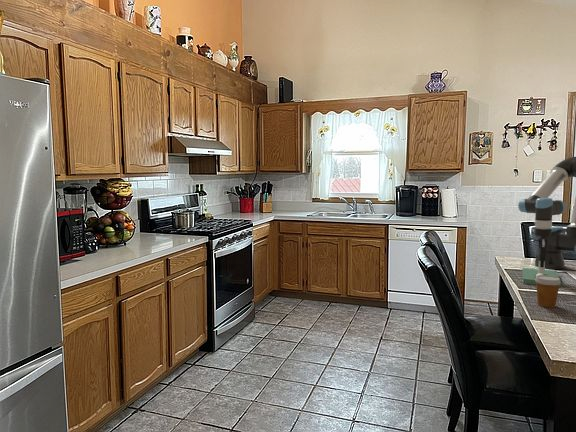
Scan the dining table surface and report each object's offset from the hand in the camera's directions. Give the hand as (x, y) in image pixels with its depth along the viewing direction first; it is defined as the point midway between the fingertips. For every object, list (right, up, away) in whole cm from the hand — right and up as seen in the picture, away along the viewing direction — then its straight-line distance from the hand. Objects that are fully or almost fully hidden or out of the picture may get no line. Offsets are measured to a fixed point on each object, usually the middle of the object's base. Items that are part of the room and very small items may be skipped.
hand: (541, 272), depth 227 cm
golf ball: (-4, -2, -6) cm, 7 cm away
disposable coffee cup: (-22, -8, -42) cm, 49 cm away
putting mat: (-1, -3, -1) cm, 4 cm away
